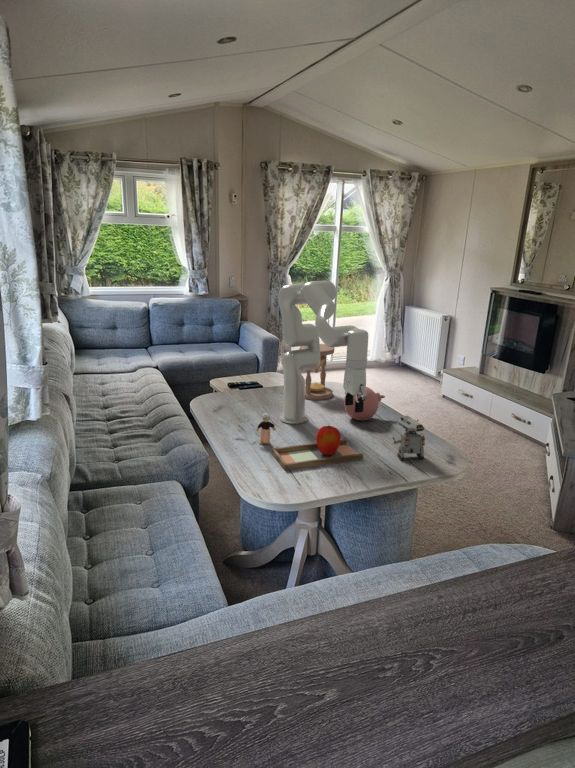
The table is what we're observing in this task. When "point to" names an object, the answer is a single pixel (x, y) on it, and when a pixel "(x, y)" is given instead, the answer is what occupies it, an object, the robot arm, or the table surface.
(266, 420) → the grandmother figurine
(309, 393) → the hourglass
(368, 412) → the balloon
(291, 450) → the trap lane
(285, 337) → the robot arm
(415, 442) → the figurine
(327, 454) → the apple
